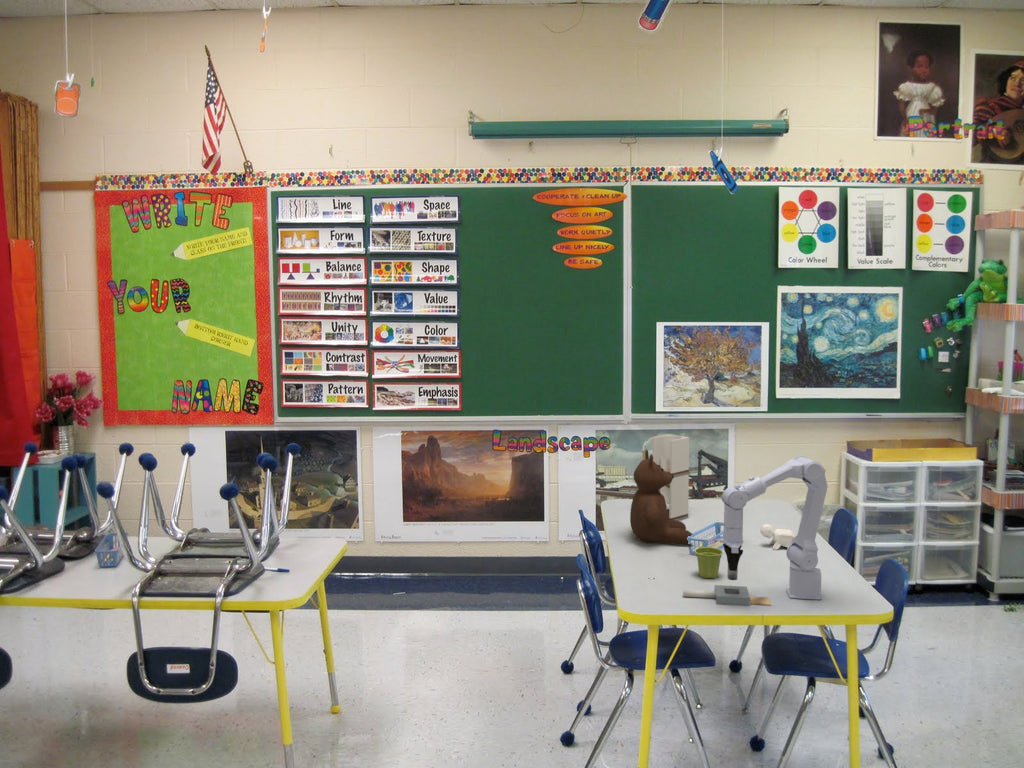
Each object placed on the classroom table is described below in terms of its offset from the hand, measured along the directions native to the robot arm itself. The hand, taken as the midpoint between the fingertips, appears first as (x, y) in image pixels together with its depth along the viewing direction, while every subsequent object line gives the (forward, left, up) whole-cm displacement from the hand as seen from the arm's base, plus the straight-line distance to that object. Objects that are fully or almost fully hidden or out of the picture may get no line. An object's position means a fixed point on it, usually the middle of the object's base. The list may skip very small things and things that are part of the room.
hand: (732, 568), depth 263 cm
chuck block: (+5, 0, -10) cm, 11 cm away
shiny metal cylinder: (0, 0, -3) cm, 3 cm away
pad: (-8, +1, -10) cm, 13 cm away
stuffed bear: (+22, -60, -10) cm, 65 cm away
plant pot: (+6, -21, -10) cm, 24 cm away
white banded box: (+18, -93, -10) cm, 95 cm away
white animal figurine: (-22, -58, -10) cm, 63 cm away
